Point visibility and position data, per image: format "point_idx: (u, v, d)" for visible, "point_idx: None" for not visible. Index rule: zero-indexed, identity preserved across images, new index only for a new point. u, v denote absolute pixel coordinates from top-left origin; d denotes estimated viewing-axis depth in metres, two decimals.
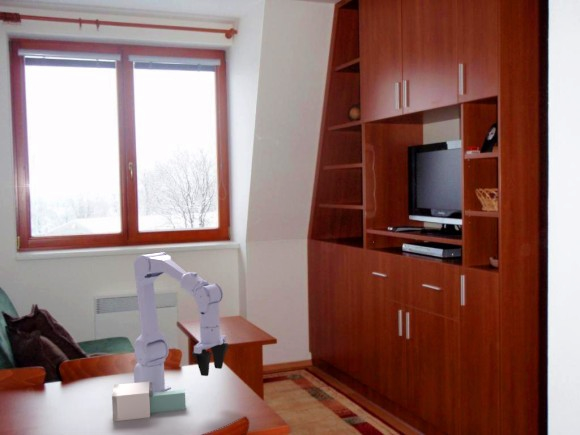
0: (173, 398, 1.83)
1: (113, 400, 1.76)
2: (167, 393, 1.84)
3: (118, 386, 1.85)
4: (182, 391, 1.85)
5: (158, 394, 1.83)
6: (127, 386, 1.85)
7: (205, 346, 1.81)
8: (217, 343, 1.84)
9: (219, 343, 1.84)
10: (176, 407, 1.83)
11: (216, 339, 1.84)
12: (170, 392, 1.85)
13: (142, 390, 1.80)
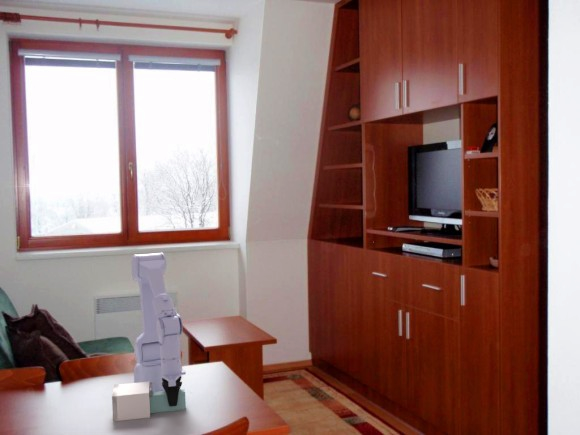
0: None
1: (113, 400, 1.76)
2: None
3: (118, 386, 1.85)
4: (182, 390, 1.85)
5: (158, 393, 1.83)
6: (127, 386, 1.85)
7: (177, 378, 1.80)
8: (182, 373, 1.84)
9: (184, 373, 1.84)
10: (176, 406, 1.83)
11: (180, 370, 1.84)
12: None
13: (142, 390, 1.80)
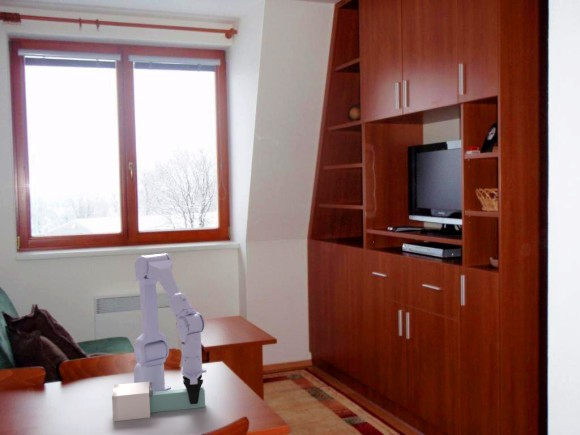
0: None
1: (113, 400, 1.76)
2: None
3: (118, 386, 1.85)
4: (202, 388, 1.86)
5: (178, 391, 1.84)
6: (127, 386, 1.85)
7: (198, 376, 1.81)
8: (203, 371, 1.85)
9: (205, 371, 1.85)
10: (196, 404, 1.84)
11: (201, 368, 1.85)
12: None
13: (142, 390, 1.80)
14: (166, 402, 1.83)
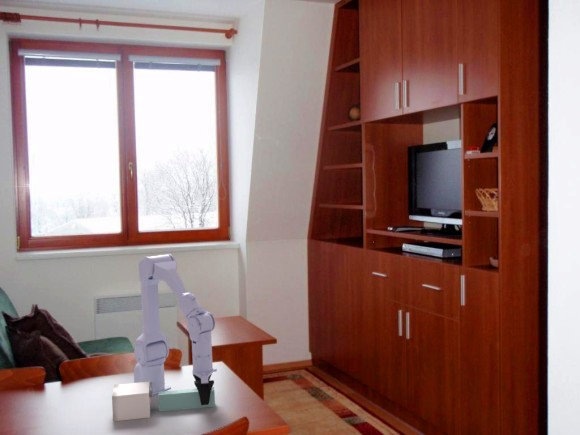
0: None
1: (113, 400, 1.76)
2: (197, 390, 1.85)
3: (118, 386, 1.85)
4: None
5: (188, 391, 1.85)
6: (127, 386, 1.85)
7: (209, 375, 1.81)
8: (213, 370, 1.86)
9: (215, 370, 1.86)
10: None
11: (212, 367, 1.86)
12: None
13: (142, 390, 1.80)
14: (176, 401, 1.83)
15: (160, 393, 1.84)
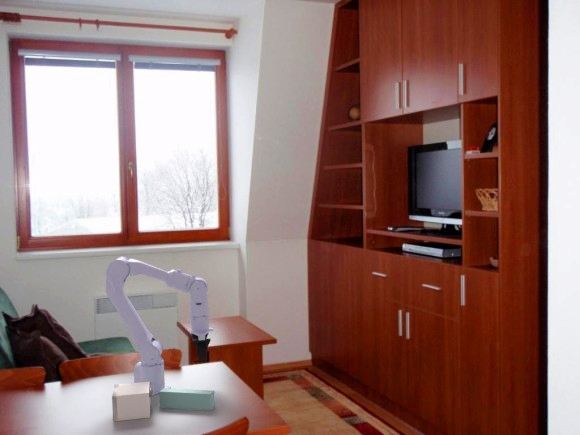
0: (199, 398, 1.83)
1: (113, 400, 1.76)
2: (195, 392, 1.84)
3: (118, 386, 1.85)
4: (209, 392, 1.83)
5: (187, 391, 1.85)
6: (127, 386, 1.85)
7: (205, 333, 1.99)
8: (210, 330, 2.03)
9: (211, 329, 2.04)
10: (202, 407, 1.83)
11: (208, 327, 2.03)
12: (199, 391, 1.84)
13: (142, 390, 1.80)
14: (175, 400, 1.85)
15: (163, 390, 1.87)
